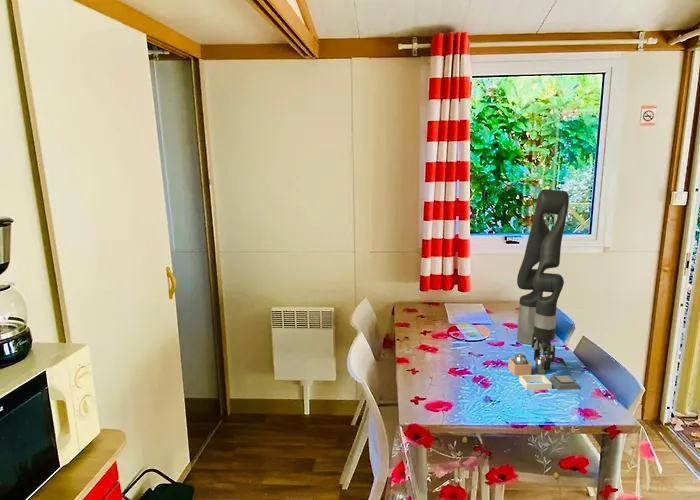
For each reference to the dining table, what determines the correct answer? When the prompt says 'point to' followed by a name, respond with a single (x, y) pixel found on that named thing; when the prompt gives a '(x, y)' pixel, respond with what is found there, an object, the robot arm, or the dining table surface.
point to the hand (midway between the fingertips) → (541, 365)
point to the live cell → (540, 366)
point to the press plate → (564, 379)
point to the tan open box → (519, 368)
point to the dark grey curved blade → (561, 361)
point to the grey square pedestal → (563, 386)
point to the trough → (535, 386)
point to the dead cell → (520, 359)
